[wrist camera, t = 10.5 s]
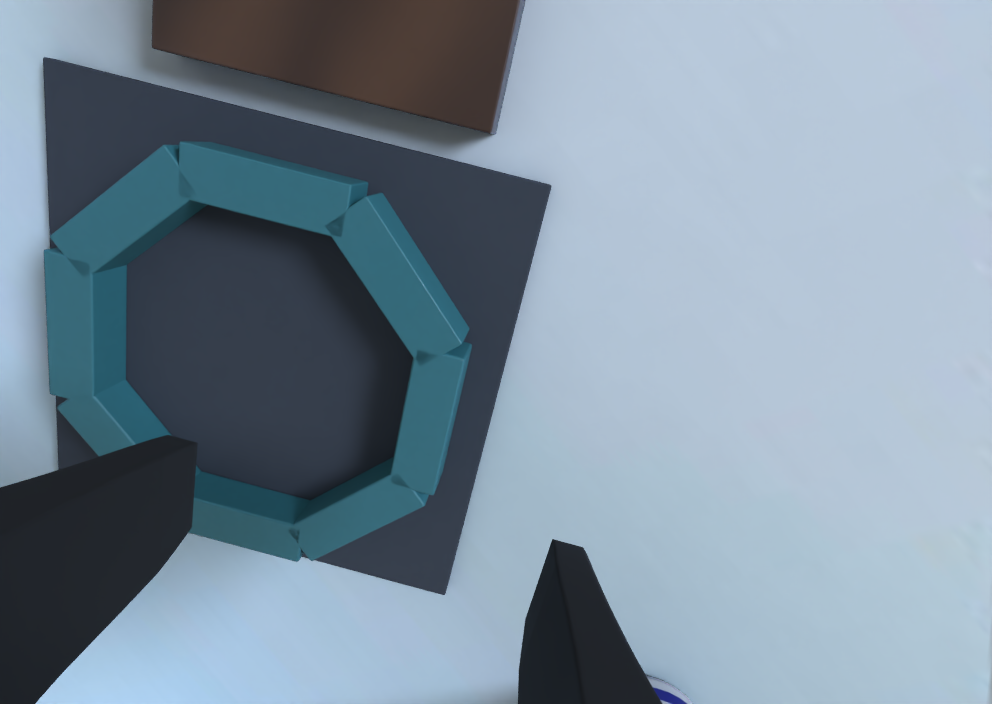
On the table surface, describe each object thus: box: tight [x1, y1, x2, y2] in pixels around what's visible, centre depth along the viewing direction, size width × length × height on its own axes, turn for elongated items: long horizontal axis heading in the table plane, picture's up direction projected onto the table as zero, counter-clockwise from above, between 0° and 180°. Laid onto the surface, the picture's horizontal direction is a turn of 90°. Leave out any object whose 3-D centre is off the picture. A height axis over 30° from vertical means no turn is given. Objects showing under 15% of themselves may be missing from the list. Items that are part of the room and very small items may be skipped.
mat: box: [43, 57, 551, 595], centre depth 20 cm, size 16×16×1 cm
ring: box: [44, 141, 472, 562], centre depth 19 cm, size 14×14×2 cm
